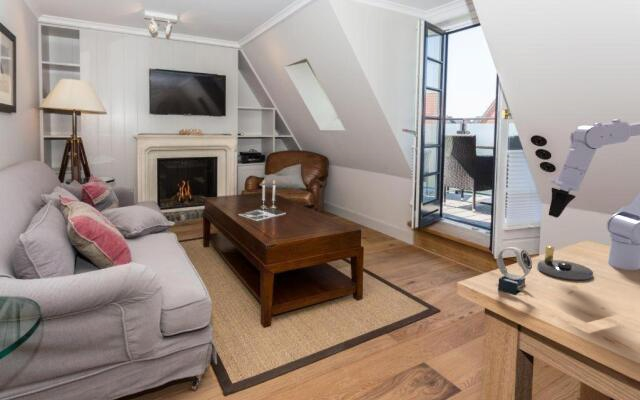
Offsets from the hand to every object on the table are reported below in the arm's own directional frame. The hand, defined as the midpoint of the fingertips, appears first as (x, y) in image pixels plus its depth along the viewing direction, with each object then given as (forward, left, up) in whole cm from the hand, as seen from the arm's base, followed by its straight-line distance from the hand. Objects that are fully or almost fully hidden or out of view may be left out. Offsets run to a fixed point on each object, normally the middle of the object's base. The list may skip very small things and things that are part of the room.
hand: (553, 216), depth 112 cm
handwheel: (-1, +4, -15) cm, 15 cm away
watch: (+19, +5, -16) cm, 25 cm away
